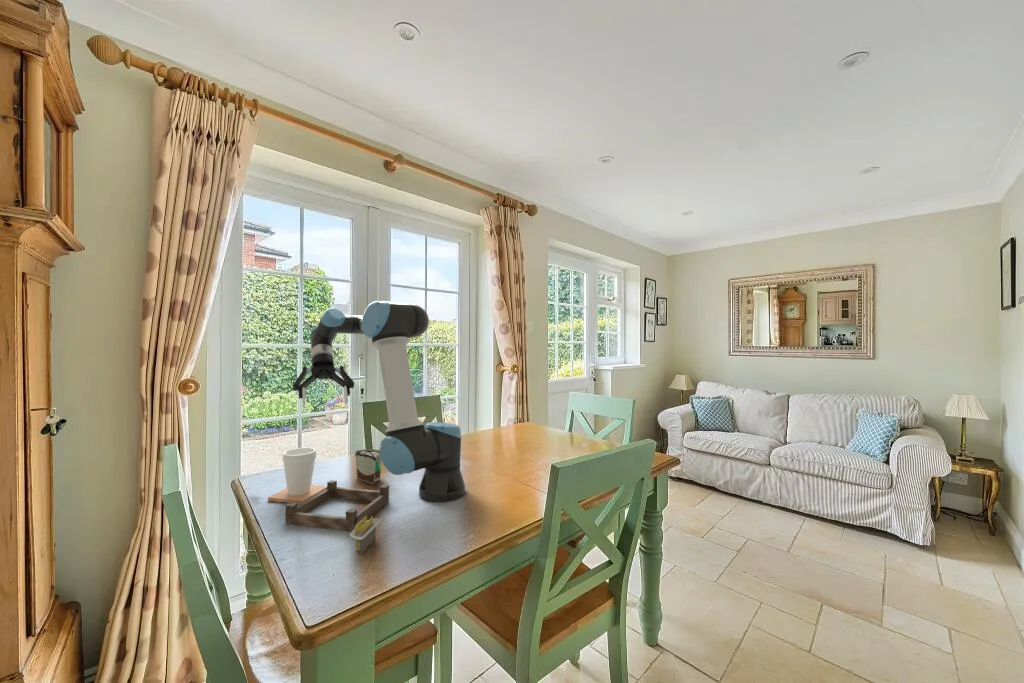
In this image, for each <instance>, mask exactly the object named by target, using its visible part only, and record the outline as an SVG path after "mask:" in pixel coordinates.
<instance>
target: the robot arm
mask: <svg viewBox="0 0 1024 683" xmlns="http://www.w3.org/2000/svg"><path fill="white" fill-rule="evenodd" d="M429 323H430V318H429V314H428V313H427V311H426V310H425V309H424V308H423V307H421V306H419V305H418V304H415V303H404V302H396V301H395V302H394V301H388V300H380V301H379V300H375V301H372V302H370V303H369V304H368V305H367V307H366V308H365V310H364V312H363V315H358V314H357V315H353V314H345V313H344V311H343V310H341V309H338V308H336V307H329V308H327V309H326V310H325V311H324V312H323V314H322V316H321V318H320V320H319V322H318V325H315V326H314V327H312V328H311V330H310V336H309V339H310V348H311V349H310V352H311V368H310V367H307V366H303V367H302V371H301V373H300V374H299V375H298V377H297V379H296V380H295V381H294V383H293V384H292V391H293V392H294V391H297V392H298V398H299V399H301V400H302V404H301V405H302V406H301V407H302V408H305V407H306V388H308V387H309V386H310V385H311V384H312V383H313V382H314V381H315V382H316V380H317V379H318V380H331V381H334V382H335V383H336V384H338V385H339V386H340V387H341V388H343V390H342V391H343V398H344V405H348V404H349V403H348V402H349V398H348V397H350V396H351V389H354V387H355V381H354V380H353V379H352V378H351V376H350V375H348V373H347V372H346V370H345V369H344V366H342V365H340V366H339V367H336V366H335V363H334V362H335V361H334V352H333V351H334V350H333V341H334V340H335V338H336V336H337V335H338V334H345V335H346V334H348V335H350V334H354V335H364V336H366V337H367V338H369V339H371V342H372V346H373V347H374V348H376V349H377V350H378V355H379V362H380V369H381V374H382V376H381V377H382V384H383V390H384V395H385V402H386V403H385V404H386V408H387V409H386V410H387V416H388V422H389V426H388V427H387V429H386V430H385V432H384V433H385V437H384V438H383V439H382V440H381V441H380V446H379V450H380V457H381V460H382V462H381V463H382V464H383V466H384V467H385V469H387V471H388V472H389V473H390V474H392V475H395V476H401V475H405V474H411V473H413V472H416V471H419V470H423V469H424V471H423V474H422V477H421V480H420V484H419V487H418V496H419V498H421V499H422V498H423V500H425V501H428V500H429V501H428V502H434V501H444V502H451V501H454V500H458V499H460V498H462V497H463V496H465V494H466V483H465V481H464V480H465V479H464V478H463V475H462V471H461V452H462V450H461V448H462V447H461V446H462V435H461V433H462V432H461V427H460V426H459V425H458V424H454V423H449V422H442V421H441V422H437V421H436V422H434V421H431V422H427V423H426V424H424V422H422V421H421V420H420V419H419V417H418V412H417V405H416V404H417V403H416V399H415V393H414V386H413V380H412V373H411V368H410V367H411V366H410V362H409V355H408V349H407V345H408V344H409V343H410V341H411V339H414V338H418V337H421V336H422V335H423V334H424V333H426V332H427V330H428V327H429ZM336 372H337V373H338V374H337V373H336ZM310 373H311V374H310ZM308 374H310V376H308V377H307V375H308ZM339 375H340V376H339ZM306 377H307V378H306ZM305 378H306V379H305ZM304 379H305V380H304ZM464 493H465V494H464ZM461 496H462V497H461ZM457 498H458V499H457Z"/></svg>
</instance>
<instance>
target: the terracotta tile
mask: <svg viewBox="0 0 1024 683" xmlns="http://www.w3.org/2000/svg"><path fill="white" fill-rule="evenodd" d="M326 489H327V485H326V486H325V485H315V484H311V488H310V491H309V492H308V493H306V494H302V495H289V494H288V491H287V487H286V488H284V489H282V490H280V491H278V492H276V493H273V494H272V495H270V496H268V497H267V501H268V502H270V501H278V502H277V503H280V502H288V503H287V504H290V503H297V505H300V504H302V503H304V502H305V501H307V500H309V499H310V498H312V497H314V496H316V495H317V494H319V493H321V492H322V491H324V490H326Z"/></svg>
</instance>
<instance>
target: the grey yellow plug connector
mask: <svg viewBox="0 0 1024 683" xmlns="http://www.w3.org/2000/svg"><path fill="white" fill-rule="evenodd" d="M380 522H381V518H380V517H378V518H377V517H375V518H374V516H373V515H372V516H370V518H368V519H367V516H366V517H365V518H364V519H363V520H361V521H360V522H359V523H358V524H357V525H356V526H355V529H354V530H353V531H350V533H349V537H350V538H352V539H355V550H356V551H358V552H359V553H358V554H359V555H361V554H362V553H363V552H364V551H365V550H366V549H367V548H368V547H369V546H370V544H371V543H372V542H373V541H374V540H375V539H376V536H377V535H376V533H377V532H376V531H377V530H376V528H377V526H378V525H379V524H380ZM367 546H368V547H367ZM366 547H367V548H366ZM365 548H366V549H365ZM364 549H365V550H364ZM363 550H364V551H363ZM362 551H363V552H362ZM361 552H362V553H361Z"/></svg>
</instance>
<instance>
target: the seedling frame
mask: <svg viewBox="0 0 1024 683" xmlns="http://www.w3.org/2000/svg"><path fill="white" fill-rule="evenodd" d="M326 484H327V485H326V486H327V489H326V490H324V491H322V492H321V493H319V494H317V495H316V496H314V497H312V498H310V499H309V500H307V501H305V502H304V503H302V504H297V503H287V504H286V505H285V522H284V523H285V525H290V524H292V526H293V525H294V526H301V527H308V526H309V527H310V528H318V529H327V530H328V529H329V530H335V529H336V530H337V531H344V532H345V531H346V532H352V531H353V530H354V529H355V526H356V525H357V524H358V523H359V522H360V521H361V520H363V519H364V518H365V517H366V516H367V520H369V519H370V518H371V517H372V516H373V515H374V514H375V513H376V512H378V511H379V510H380V509H381V508H382V507H383V506H385V505H386V504H387V503H388V502H389V500H390V499H389V498H390V495H389V494H390V485H388V484H382V485H380V487H379V490H375V489H374V490H372V489H363V488H362V489H361V488H352V487H341V486H339V487H338V485H337V484H338V481H337V480H334V479H333V480H330V481H327V482H326ZM330 498H332V500H333V499H334V498H335V499H342V498H344V499H345V500H352V499H354V500H355V501H365V502H370V503H368V504H367V505H366V506H365V507H363V508H361V509H360V510H358V509H356V508H349V509H348V510H347V511H345V516H340V515H331V514H329V515H328V514H319V513H310V512H311V511H313V510H315V509H317V508H318V507H320V506H321V505H322V503H323V504H324V503H325V501H326V502H327V501H329V500H330ZM328 499H329V500H328ZM344 499H343V500H344ZM354 500H353V501H354ZM317 506H318V507H317ZM314 508H315V509H314ZM312 509H313V510H312ZM309 511H310V512H309Z"/></svg>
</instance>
